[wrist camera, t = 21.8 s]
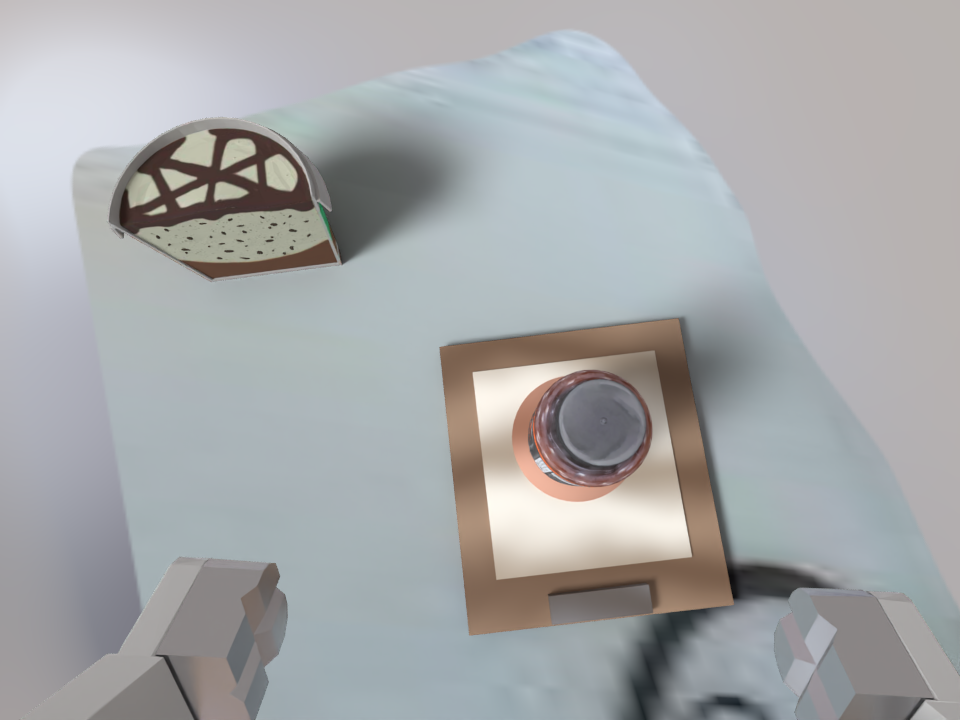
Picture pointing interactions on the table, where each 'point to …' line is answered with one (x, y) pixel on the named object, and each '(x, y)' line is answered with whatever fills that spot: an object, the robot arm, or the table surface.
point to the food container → (226, 201)
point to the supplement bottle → (590, 430)
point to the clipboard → (578, 487)
